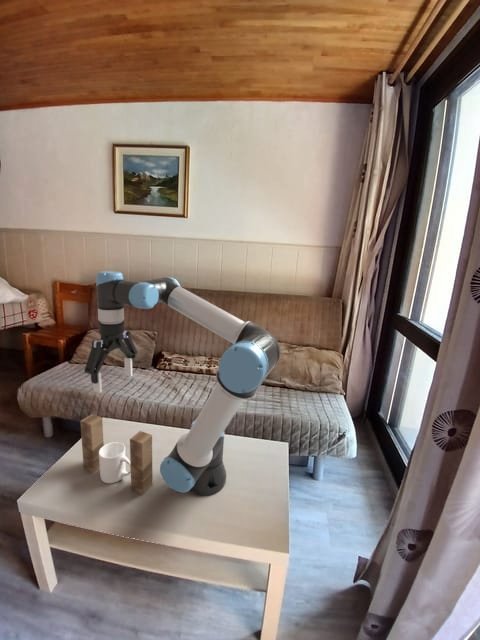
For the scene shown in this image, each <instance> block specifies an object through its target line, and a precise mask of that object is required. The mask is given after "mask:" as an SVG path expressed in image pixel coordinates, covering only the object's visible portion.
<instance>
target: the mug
mask: <svg viewBox="0 0 480 640" xmlns="http://www.w3.org/2000/svg"><path fill="white" fill-rule="evenodd" d="M99 464H100V469H99V475H100V477H99V478H100V480H101V481H102V482H103V483H105V484H114V483H117V482H119V481H120V480H123V478H124V477H127V476H129V475H131V463H130V458H128V457H127V456H126V446H125V445H124V443H121V442H117V441H115V442H114V441H113V442H108V443H106V444H104V446H103V447H102V448H101V449H100V450H99ZM126 464H128V466H129V468H130V470H129V471H127V469H126V468H127V465H126Z"/></svg>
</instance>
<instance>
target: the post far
mask: <svg viewBox="0 0 480 640" xmlns="http://www.w3.org/2000/svg"><path fill="white" fill-rule="evenodd" d="M79 421H80V423H79V425H80V434H81V436H80V437H81V448H82V449H81V450H82V461H83V469H84V470H86V471H88V472H90V473H92V474H95V473H97V472H98V471H100V464H99V450H100V449H101V448H102V447H103V446H104V445H105V444H104V428H103V427H104V426H103V417H101V416H99V415H95V414H93V413H91V414H89V415H88V416H86V417H84V418H83V419H81V420H79Z"/></svg>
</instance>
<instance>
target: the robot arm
mask: <svg viewBox="0 0 480 640" xmlns="http://www.w3.org/2000/svg"><path fill="white" fill-rule="evenodd" d="M95 282H96V283H95V289H96V300H97V318H98V319H97V321H98V333H99V335H100V339H99V340H94V339H93V340H92V341H91V349H90V352H89V355H88V358H87V360H86V361H87V362H86V365H85V367H84V373H86V374H88V375H89V374H90V380H91V381H90V382H91V383H92V388H93V391H92V392H95V393H99V394H101V393H103V390H102V389H103V388H102V387H103V386H102V372H100V370H101V368H102V366H103V365H104V362H105V360H106V358H107V356H108V355H110V353H111V352H112V351H115V350H118V349H119V350H120V351H121V353H123V355H124V356H125V357H124V375H125V376H128V377H133V365H134V362H133V361H134V359H135V358H136V355H137V354H138V350H137V348H136V346H135V343H134V342H133V339H132V337H131V332H130V331H128V330H125V321H124V320H125V310H124V309H125V307H124V306H127V307H131V308H136V309H141V310H142V309H144V310H149V309H152V308H154V306H156V305H157V303H163V304H164V305H165V306H167V307H170V308H171V309H172V310H175V311H176V312H178V313H180V314H181V315H183V316H185V317H187V318H188V319H190V320H192V321H193V322H195V323H197V324H199V325H200V326H202V327H204V328H206V329H207V330H209V331H211V333H212V332H213V334H216V335H218V336H219V337H221V338H223V339H225V340H226V341H227V342H230V343H231V344H232V345H231V346H229V348H227V349H226V350H225V352H224V353H222V356H220V359H219V361H218V367H217V369H218V370H217V372H216V375H215V378H216V382H217V383H216V385H215V386H214V388H213V390H212V392H211V393H210V395H209V397H208V398H207V400H206V402H205V404H204V406H203V407H202V408H201V410H200V412H199V414H198V415H197V418H196V419H195V420H193V421H192V423H191V424H190V425H191V426H190V429H189V431H188V432H186V433H184V434H182V435H181V436H180V437H179V438H178V440H177V441H176V444H175V445H174V447H173V448H172V450H171V452H170V453H169V454H168V455H167V456H166V457H164V458H163V460H162V461H161V463H160V466H159V471H160V475H161V477H162V480H163V481H164V482H165V484H166V485H167V486H168V487H169V488H171V489H172V490H174V491H176V492H178V493H188V492H191V493H192V494H196V495H199V496H210V495H211V496H212V495H215V494H217V493H219V492H220V491H221V490H222V489H223V488H224V487H225V485H226V482H227V471H226V468H225V464H224V461H223V459H224V457H223V455H224V445H225V444H224V442H225V434H226V433H225V430H226V428H227V427H228V425H229V424H230V422H231V421H232V420H233V418H234V416H235V415H236V413H237V412H238V410H239V408H240V407H241V405H242V404H243V403H244V401H245V400H250V399H252V398H253V397H254V396H255V394H256V393H257V391H258V390H259V389H260V387H261V386H262V385H263V382H264V381H265V379H266V378H267V376H268V375H269V374H270V373H271V372H272V370H273V369H275V367H276V366H277V365H278V363H279V361H280V358H281V346H280V344H279V342H278V340H277V338H276V337H275V335H273V334H272V332H269V331H268V330H267V329H265V328H263V327H261V326H260V325H259V324H257V323H254V322H253V321H250V320H248V321H244V320H242V319H241V318H238V317H236V316H235V315H233V314H231V313H229V312H227V311H225V310H224V309H222V308H221V307H220V308H219V307H218V306H217V305H215V304H212V303H211V302H209V301H208V300H205V299H204V298H202V297H200V296H198V295H197V294H195V293H193V292H191V291H189V290H187V289H185V288H183V287H181V285H180V282H178V280H177V279H176V278H174V277H161V278H153V279H146V280H126V279H124V275H123V273H122V272H120V271H115V270H114V271H113V270H104V271H98V272H97V273H96V279H95Z"/></svg>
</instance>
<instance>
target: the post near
mask: <svg viewBox="0 0 480 640" xmlns="http://www.w3.org/2000/svg"><path fill="white" fill-rule="evenodd" d="M129 453H130V454H129V461H130V463H131V473H130V489H131V490H132V491H134V492H136V493H138V494H140V495H144V494H146V492H147V491H148V490H149V489H150V488H151V487H152V486H153V435H152V434H150V433H147V432H144V431H142V430H139V431H138V432H136V434H134V435H133V436H132V437H130V438H129Z"/></svg>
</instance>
